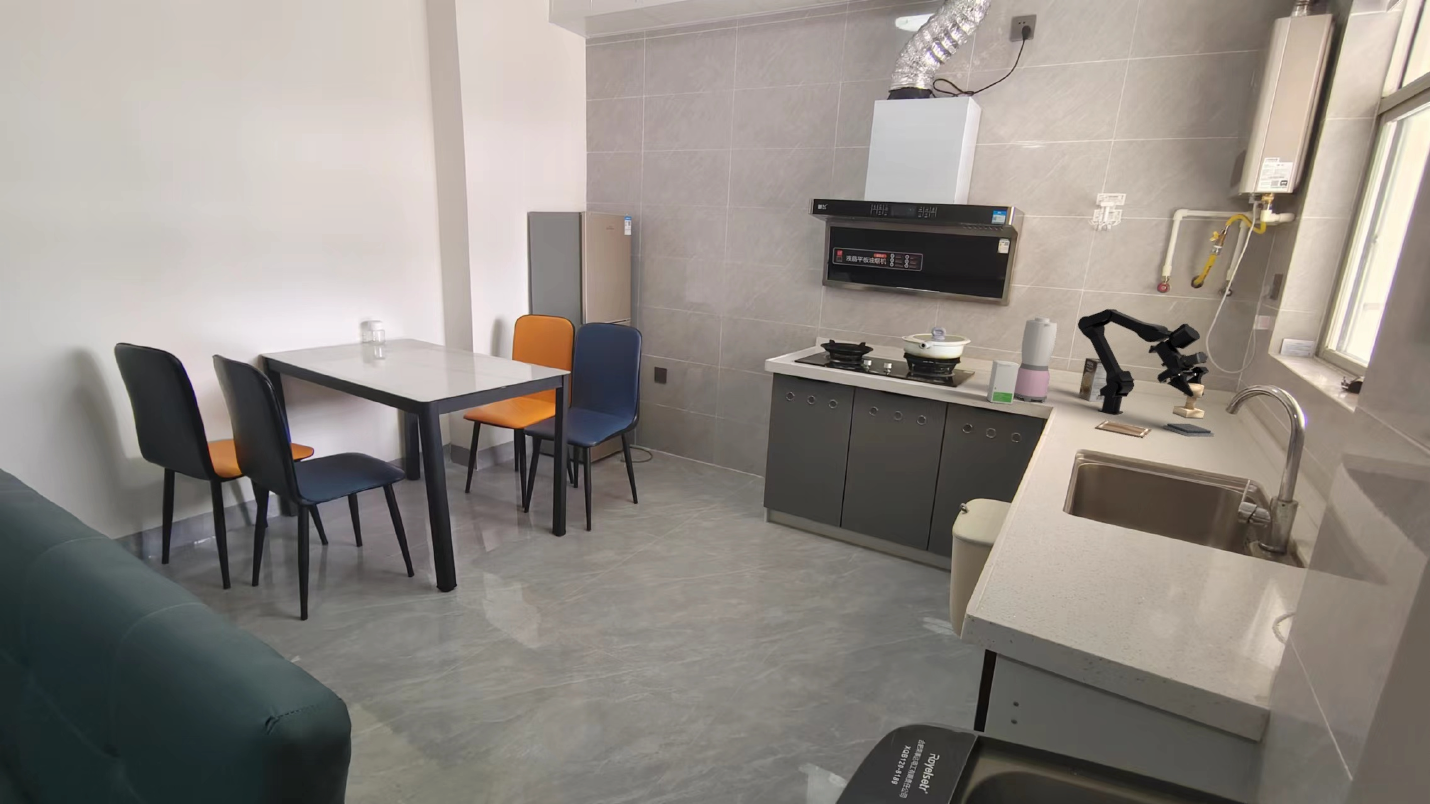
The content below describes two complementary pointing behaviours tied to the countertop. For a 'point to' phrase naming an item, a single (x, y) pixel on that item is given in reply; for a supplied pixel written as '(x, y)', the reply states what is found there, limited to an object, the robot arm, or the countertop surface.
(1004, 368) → the skincare box
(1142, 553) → the countertop surface
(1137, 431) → the stamp board
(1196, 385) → the rubber stamp
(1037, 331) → the blender
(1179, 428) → the ink pad
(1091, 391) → the coffee box
